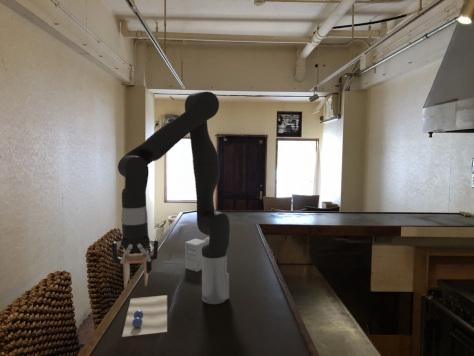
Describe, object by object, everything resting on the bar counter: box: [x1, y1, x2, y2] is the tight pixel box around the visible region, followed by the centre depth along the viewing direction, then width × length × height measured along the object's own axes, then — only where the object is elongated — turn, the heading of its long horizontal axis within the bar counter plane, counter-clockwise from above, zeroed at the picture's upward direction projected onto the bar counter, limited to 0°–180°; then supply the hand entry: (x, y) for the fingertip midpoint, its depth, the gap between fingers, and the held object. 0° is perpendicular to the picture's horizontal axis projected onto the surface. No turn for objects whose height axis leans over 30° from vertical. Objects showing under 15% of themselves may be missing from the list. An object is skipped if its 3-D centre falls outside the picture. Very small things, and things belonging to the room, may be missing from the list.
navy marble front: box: [132, 317, 142, 328], centre depth 100 cm, size 3×3×3 cm
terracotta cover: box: [123, 248, 149, 289], centre depth 100 cm, size 10×6×8 cm, turn 12°
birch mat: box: [121, 295, 168, 338], centre depth 108 cm, size 24×13×1 cm, turn 12°
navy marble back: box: [134, 310, 143, 319], centre depth 104 cm, size 3×3×3 cm
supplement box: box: [184, 238, 207, 272], centre depth 150 cm, size 7×7×13 cm
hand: (136, 273), depth 101 cm, fingers closed on terracotta cover, 6 cm apart
